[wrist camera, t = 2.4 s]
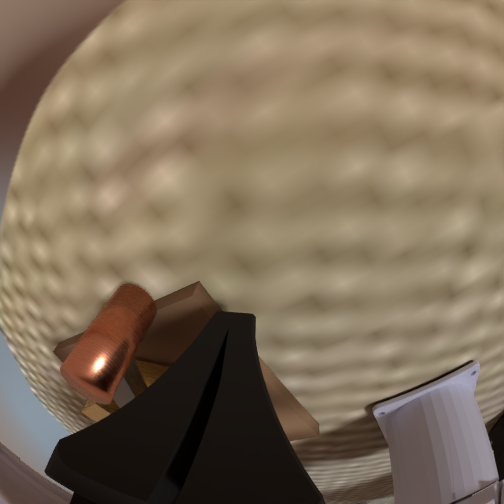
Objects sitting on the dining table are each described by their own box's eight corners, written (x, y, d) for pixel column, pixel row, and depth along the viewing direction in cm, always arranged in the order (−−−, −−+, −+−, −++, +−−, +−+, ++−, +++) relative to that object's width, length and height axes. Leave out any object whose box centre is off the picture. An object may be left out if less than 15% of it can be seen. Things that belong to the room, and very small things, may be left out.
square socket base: (319, 423, 17) (319, 491, 12) (175, 439, 21) (161, 486, 16) (199, 281, 11) (150, 389, 7) (59, 343, 16) (23, 395, 11)
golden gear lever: (253, 448, 17) (246, 498, 13) (132, 424, 18) (115, 467, 14) (254, 296, 10) (234, 405, 6) (50, 273, 11) (-6, 331, 7)
